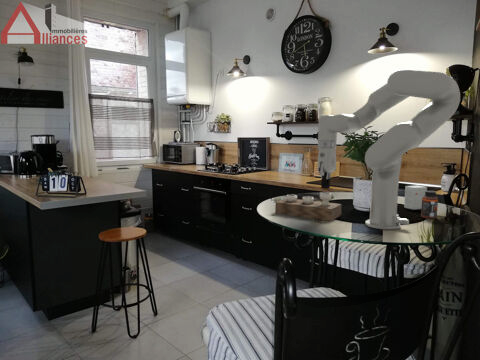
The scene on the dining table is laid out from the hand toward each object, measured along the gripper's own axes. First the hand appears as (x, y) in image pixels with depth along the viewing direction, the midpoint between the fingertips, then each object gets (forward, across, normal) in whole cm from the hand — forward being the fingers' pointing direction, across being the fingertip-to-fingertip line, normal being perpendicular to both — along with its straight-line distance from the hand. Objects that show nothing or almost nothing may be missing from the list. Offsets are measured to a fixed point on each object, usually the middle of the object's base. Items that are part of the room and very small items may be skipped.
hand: (325, 188), depth 149 cm
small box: (+12, +41, -29) cm, 52 cm away
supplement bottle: (+12, +23, -37) cm, 46 cm away
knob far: (+11, 0, +16) cm, 19 cm away
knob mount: (+12, 0, +8) cm, 15 cm away
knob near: (+9, 0, 0) cm, 9 cm away
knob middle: (+11, 0, +8) cm, 14 cm away
